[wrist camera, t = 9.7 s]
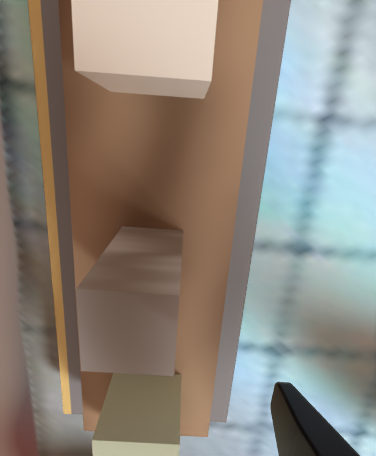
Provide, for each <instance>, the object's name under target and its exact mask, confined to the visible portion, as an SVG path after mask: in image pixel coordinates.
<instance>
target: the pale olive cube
mask: <svg viewBox="0 0 376 456" xmlns="http://www.w3.org/2000/svg"><path fill="white" fill-rule="evenodd" d="M181 378H182V374H174V376H159V375H142V374H124V373H113V376H112V379H111V382H110V385H109V388H108V391H107V394H106V397H105V401H104V404H103V407H102V410H101V413H100V416H99V419H98V423H97V426H96V429H95V432H94V435H93V438H92V453H93V456H179V445H180V412H181Z"/></svg>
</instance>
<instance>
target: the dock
mask: <svg viewBox="0 0 376 456" xmlns="http://www.w3.org/2000/svg"><path fill="white" fill-rule="evenodd" d="M290 3H291V0H263V6H262V14H261V22H260V30H259V38H258V45H257V53H256V61H255V69H254V77H253V85H252V93H251V100H250V108H249V116H248V124H247V132H246V140H245V148H244V155H243V163H242V171H241V179H240V187H239V195H238V203H237V210H236V218H235V226H234V234H233V242H232V250H231V258H230V265H229V273H228V281H227V289H226V297H225V305H224V312H223V320H222V328H221V336H220V344H219V352H218V360H217V367H216V375H215V383H214V391H213V399H212V407H211V415H210V422H226V420H227V414H228V407H229V401H230V394H231V388H232V381H233V374H234V368H235V361H236V355H237V348H238V342H239V335H240V329H241V322H242V316H243V309H244V303H245V296H246V290H247V283H248V277H249V270H250V264H251V257H252V251H253V244H254V238H255V231H256V224H257V218H258V211H259V205H260V198H261V192H262V185H263V179H264V172H265V166H266V159H267V153H268V146H269V140H270V133H271V127H272V120H273V114H274V107H275V101H276V94H277V88H278V81H279V74H280V68H281V61H282V55H283V48H284V42H285V35H286V29H287V22H288V16H289V9H290ZM28 8H29V20H30V31H31V43H32V54H33V66H34V77H35V89H36V100H37V112H38V123H39V135H40V146H41V158H42V170H43V181H44V193H45V204H46V216H47V227H48V239H49V250H50V262H51V273H52V285H53V297H54V308H55V320H56V331H57V343H58V354H59V366H60V377H61V389H62V400H63V412H64V414H82V415H83V407H82V390H81V373H80V356H79V340H78V323H77V306H76V289H75V273H74V256H73V239H72V222H71V206H70V189H69V172H68V155H67V139H66V122H65V105H64V88H63V72H62V55H61V38H60V21H59V5H58V0H28Z"/></svg>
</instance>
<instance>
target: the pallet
mask: <svg viewBox="0 0 376 456" xmlns="http://www.w3.org/2000/svg"><path fill="white" fill-rule="evenodd" d="M58 5H59V21H60V38H61V55H62V72H63V88H64V105H65V122H66V139H67V155H68V172H69V189H70V206H71V222H72V239H73V256H74V273H75V289H76V306H77V323H78V340H79V356H80V373H81V390H82V407H83V423H84V430H86V431H95V429H96V426H97V423H98V419H99V416H100V413H101V410H102V407H103V404H104V401H105V397H106V394H107V391H108V388H109V385H110V382H111V379H112V376H113V373H124V374H142V375H159V376H174V374H182V378H181V412H180V436H199V437H208V430H209V422H210V415H211V407H212V399H213V391H214V383H215V375H216V367H217V360H218V352H219V344H220V336H221V328H222V320H223V312H224V305H225V297H226V289H227V281H228V273H229V265H230V258H231V250H232V242H233V234H234V226H235V218H236V210H237V203H238V195H239V187H240V179H241V171H242V163H243V155H244V148H245V140H246V132H247V124H248V116H249V108H250V100H251V93H252V85H253V77H254V69H255V61H256V53H257V45H258V38H259V30H260V22H261V14H262V6H263V0H218V11H217V22H216V34H215V45H214V57H213V69H212V80H211V83H210V86H209V88H208V91H207V93H206V96H205V98H204V99H199V98H186V97H173V96H160V95H147V94H134V93H121V92H110V91H109V90H107V89H105V88H104V87H102V86H100V85H98V84H97V83H95V82H93V81H92V80H90V79H88V78H87V77H85V76H83V75H81V74H80V73H78V72H76V71H75V67H74V47H73V26H72V5H71V0H58Z"/></svg>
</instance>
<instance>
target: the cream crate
mask: <svg viewBox="0 0 376 456" xmlns="http://www.w3.org/2000/svg"><path fill="white" fill-rule="evenodd" d="M71 5H72V26H73V47H74V67H75V71H76V72H78V73H80V74H81V75H83V76H85V77H87V78H88V79H90V80H92V81H93V82H95V83H97V84H98V85H100V86H102V87H104V88H105V89H107V90H109V91H110V92H121V93H134V94H147V95H160V96H173V97H186V98H199V99H204V98H205V96H206V93H207V91H208V88H209V86H210V83H211V80H212V69H213V57H214V45H215V34H216V22H217V11H218V0H71Z"/></svg>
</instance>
